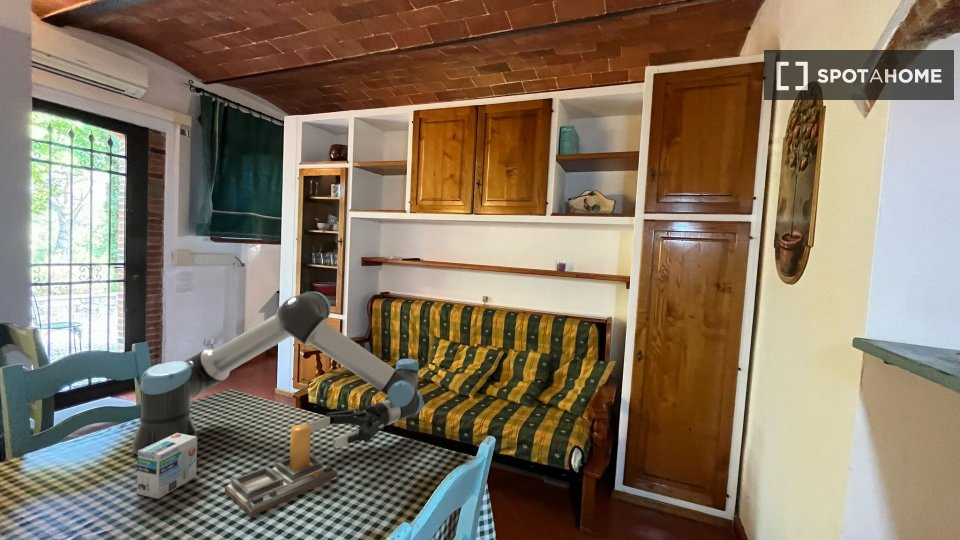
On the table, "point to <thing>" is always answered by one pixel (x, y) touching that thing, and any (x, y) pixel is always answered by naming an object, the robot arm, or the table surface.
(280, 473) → the board
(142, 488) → the light bulb box
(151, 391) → the robot arm
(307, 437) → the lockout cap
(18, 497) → the table surface
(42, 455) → the table surface
